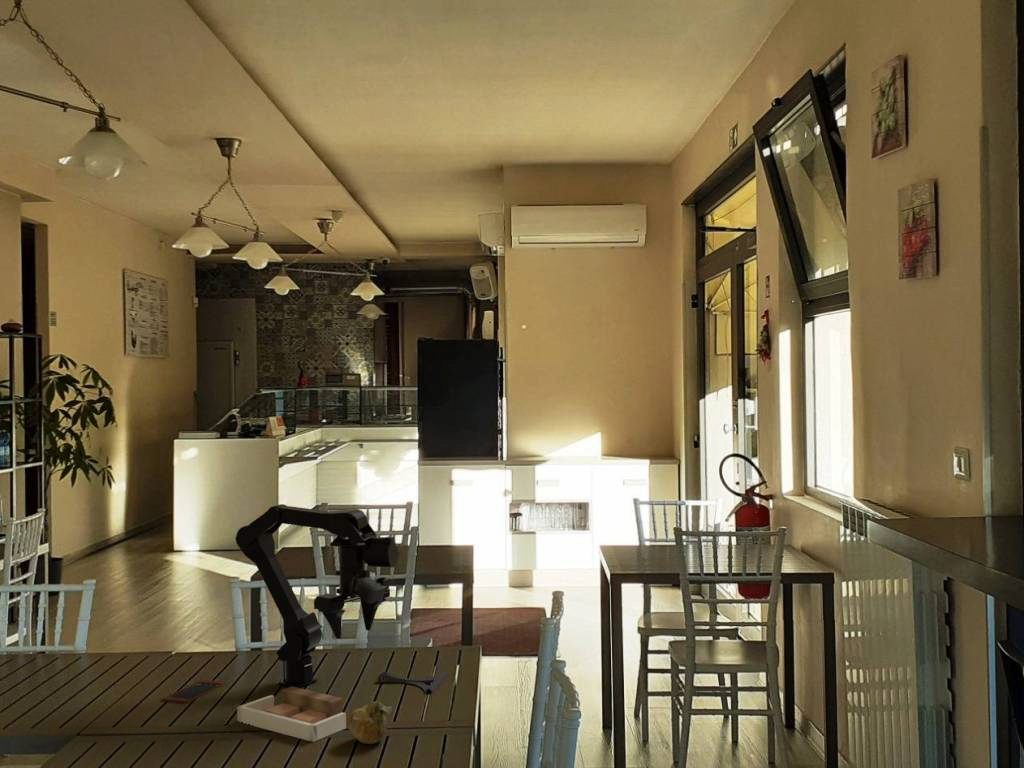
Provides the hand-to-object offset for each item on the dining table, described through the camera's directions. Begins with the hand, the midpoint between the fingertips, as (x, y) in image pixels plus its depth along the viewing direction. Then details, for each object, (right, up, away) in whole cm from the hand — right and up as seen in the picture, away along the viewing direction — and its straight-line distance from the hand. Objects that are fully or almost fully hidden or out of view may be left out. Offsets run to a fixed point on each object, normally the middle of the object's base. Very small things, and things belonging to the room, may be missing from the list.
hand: (353, 634), depth 229 cm
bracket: (+12, -13, +3) cm, 18 cm away
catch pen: (-9, -12, -24) cm, 29 cm away
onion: (+8, -12, -35) cm, 38 cm away
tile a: (-12, -13, -21) cm, 27 cm away
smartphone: (-36, -13, -1) cm, 38 cm away
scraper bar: (-6, -13, -20) cm, 24 cm away
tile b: (-5, -13, -25) cm, 29 cm away
